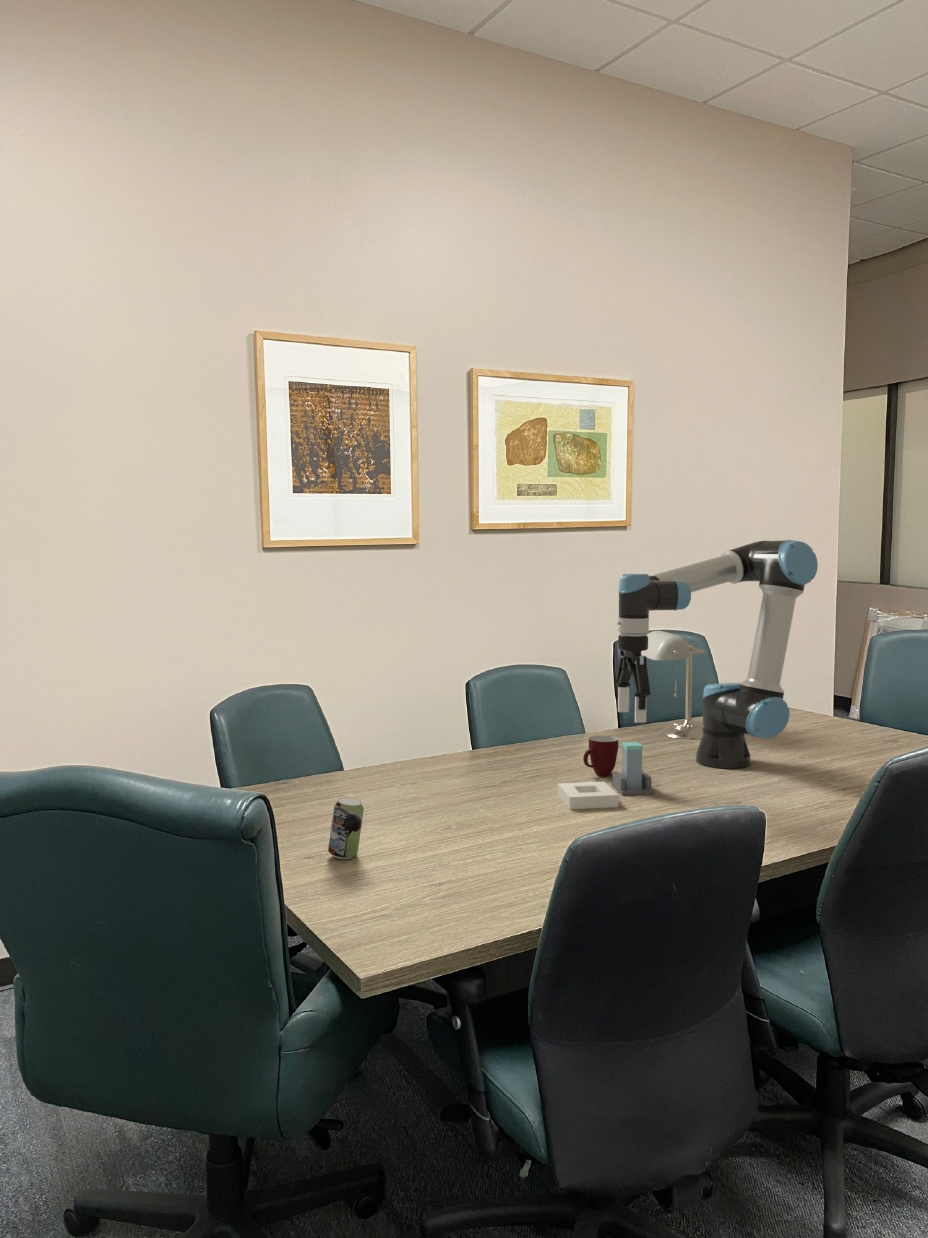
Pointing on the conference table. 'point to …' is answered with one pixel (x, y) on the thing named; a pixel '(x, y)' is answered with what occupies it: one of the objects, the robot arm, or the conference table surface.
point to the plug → (632, 765)
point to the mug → (602, 754)
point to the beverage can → (346, 828)
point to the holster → (620, 786)
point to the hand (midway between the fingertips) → (631, 717)
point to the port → (587, 795)
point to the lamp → (673, 649)
